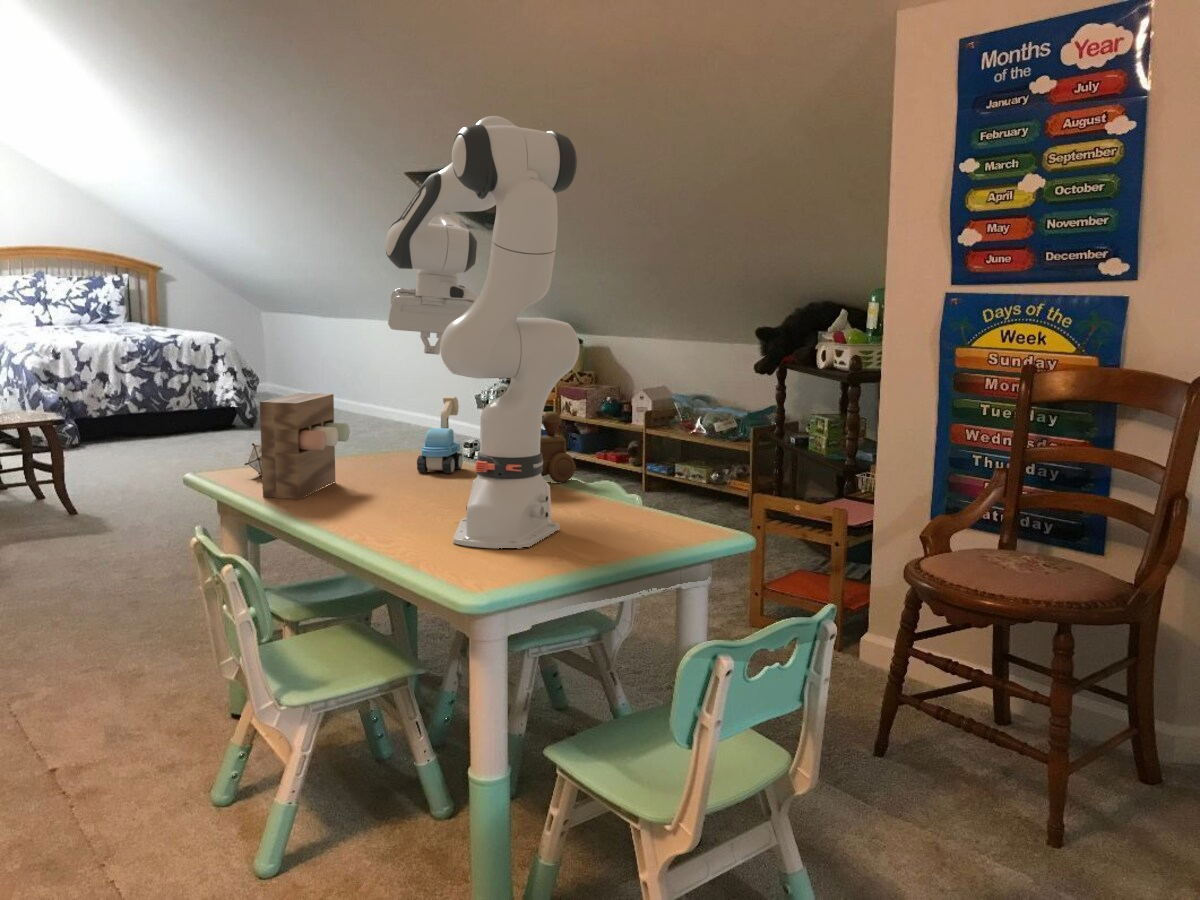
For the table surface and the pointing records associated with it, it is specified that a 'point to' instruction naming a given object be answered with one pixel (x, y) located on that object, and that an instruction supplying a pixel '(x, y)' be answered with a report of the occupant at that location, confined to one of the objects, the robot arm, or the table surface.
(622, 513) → the table surface
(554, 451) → the wooden toy train
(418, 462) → the toy excavator
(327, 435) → the cream button
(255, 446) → the game die
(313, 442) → the terracotta button
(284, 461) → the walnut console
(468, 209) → the robot arm
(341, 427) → the sage button
